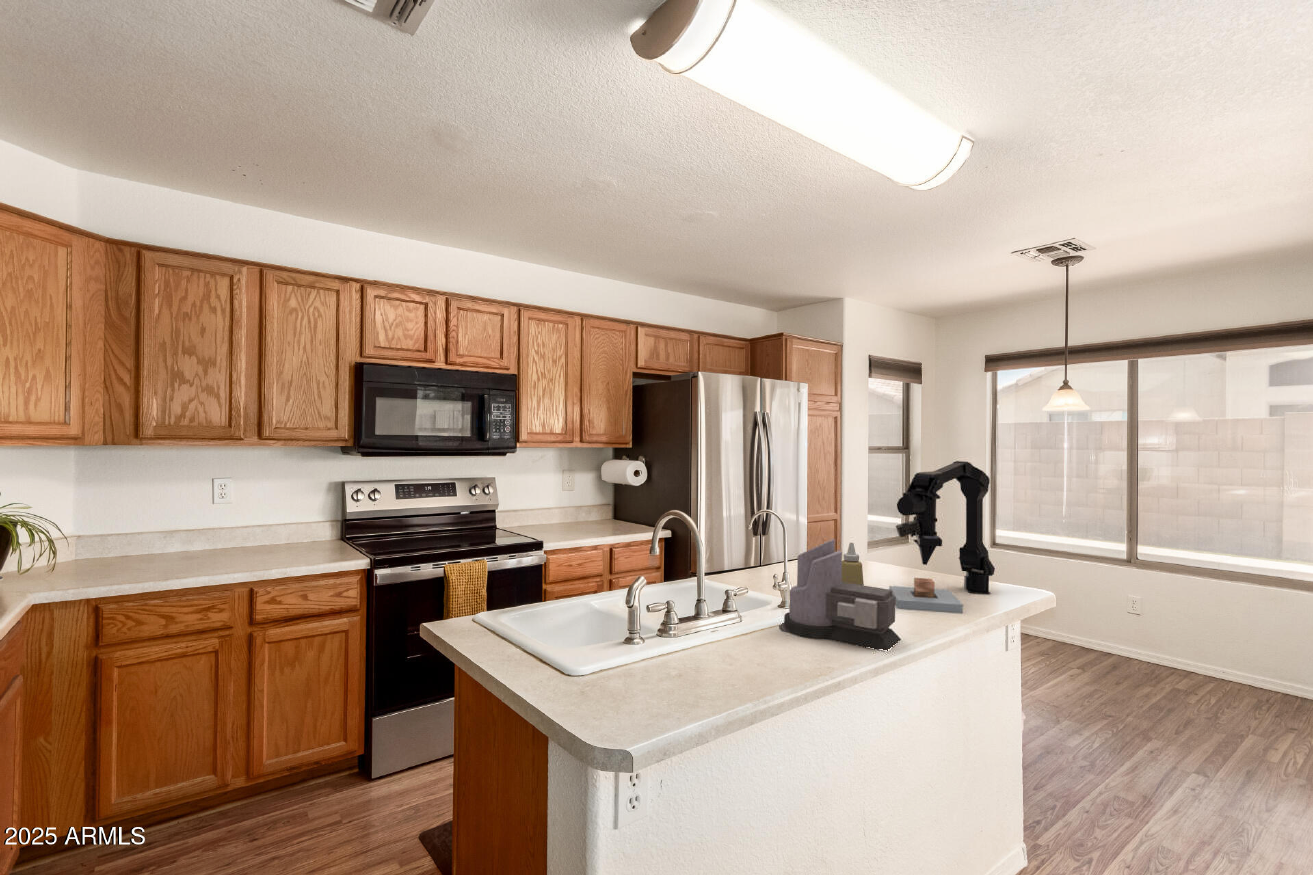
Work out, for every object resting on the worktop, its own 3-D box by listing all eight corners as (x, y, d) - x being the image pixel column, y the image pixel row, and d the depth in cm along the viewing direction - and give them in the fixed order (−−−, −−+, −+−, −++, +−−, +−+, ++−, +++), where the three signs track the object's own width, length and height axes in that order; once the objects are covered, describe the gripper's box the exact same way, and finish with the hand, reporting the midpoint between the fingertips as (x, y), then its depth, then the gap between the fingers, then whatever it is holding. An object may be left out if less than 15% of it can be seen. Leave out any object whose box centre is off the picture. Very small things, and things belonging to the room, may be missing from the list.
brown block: (930, 598, 199) (931, 578, 199) (934, 602, 194) (934, 582, 194) (913, 596, 200) (914, 577, 200) (916, 600, 195) (917, 581, 195)
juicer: (769, 630, 168) (770, 537, 168) (793, 616, 181) (795, 530, 181) (886, 655, 151) (888, 551, 150) (903, 637, 164) (905, 542, 163)
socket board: (948, 597, 204) (949, 589, 204) (962, 613, 186) (962, 604, 186) (889, 593, 208) (889, 585, 208) (897, 608, 190) (897, 600, 190)
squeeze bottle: (846, 596, 204) (847, 539, 203) (869, 601, 197) (870, 543, 197) (831, 600, 199) (832, 542, 198) (854, 605, 192) (855, 546, 192)
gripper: (893, 509, 208) (892, 557, 208) (902, 516, 189) (901, 569, 190) (930, 510, 205) (929, 559, 205) (943, 518, 187) (941, 571, 187)
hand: (924, 564), depth 197 cm, fingers closed
